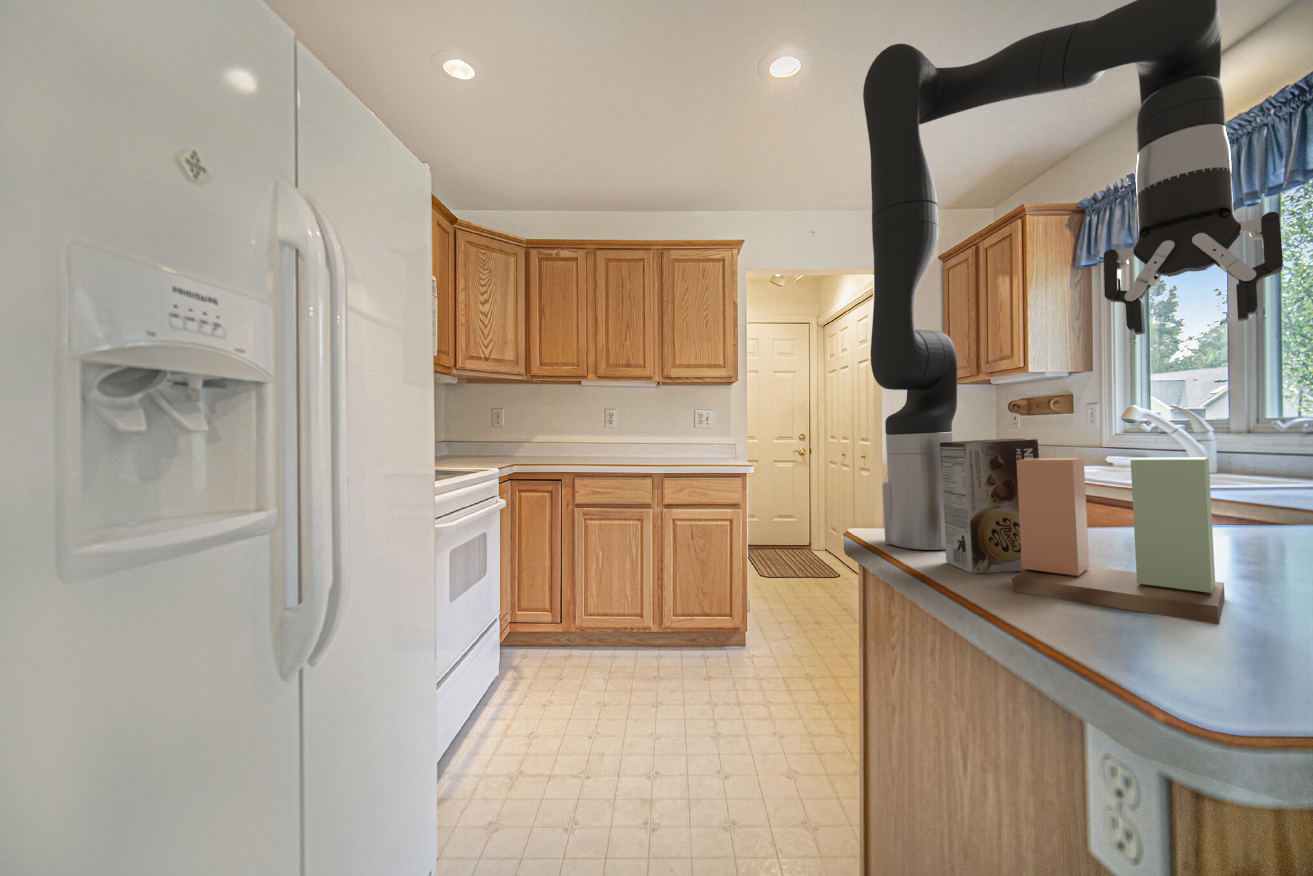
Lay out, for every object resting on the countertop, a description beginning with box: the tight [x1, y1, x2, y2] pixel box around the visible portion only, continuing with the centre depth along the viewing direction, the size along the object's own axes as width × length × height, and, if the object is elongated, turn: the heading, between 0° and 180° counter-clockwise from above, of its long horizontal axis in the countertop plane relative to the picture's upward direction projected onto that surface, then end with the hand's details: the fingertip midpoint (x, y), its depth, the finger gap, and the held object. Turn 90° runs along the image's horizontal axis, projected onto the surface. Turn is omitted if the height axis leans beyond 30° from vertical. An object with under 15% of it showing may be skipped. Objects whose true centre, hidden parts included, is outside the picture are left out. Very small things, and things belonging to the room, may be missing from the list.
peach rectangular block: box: [1017, 457, 1090, 576], centre depth 58 cm, size 5×5×12 cm
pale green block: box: [1130, 456, 1216, 593], centre depth 51 cm, size 5×5×12 cm
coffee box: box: [940, 438, 1040, 574], centre depth 67 cm, size 9×6×16 cm
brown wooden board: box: [1011, 566, 1226, 625], centre depth 54 cm, size 15×10×2 cm, turn 41°
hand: (1189, 327), depth 59 cm, fingers open, 7 cm apart
